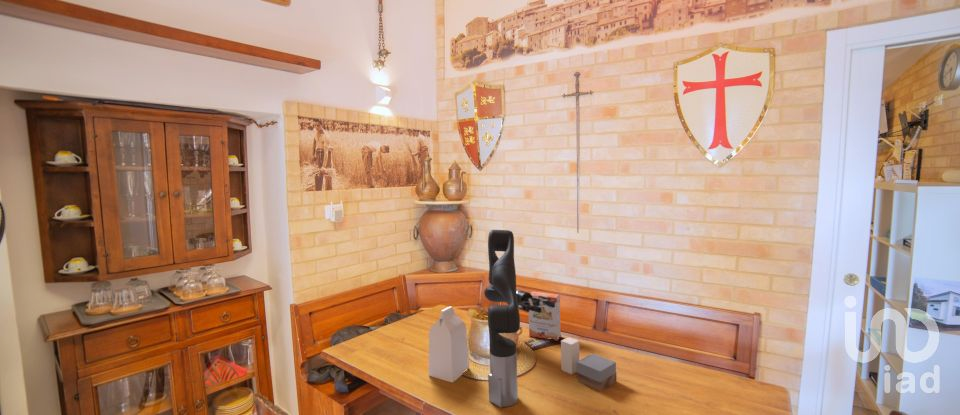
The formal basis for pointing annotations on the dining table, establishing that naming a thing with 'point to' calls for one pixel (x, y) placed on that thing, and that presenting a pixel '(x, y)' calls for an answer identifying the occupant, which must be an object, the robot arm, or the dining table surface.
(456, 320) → the milk
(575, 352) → the cream block
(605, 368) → the tower top
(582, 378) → the tower base
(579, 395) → the dining table surface
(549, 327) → the cracker box
